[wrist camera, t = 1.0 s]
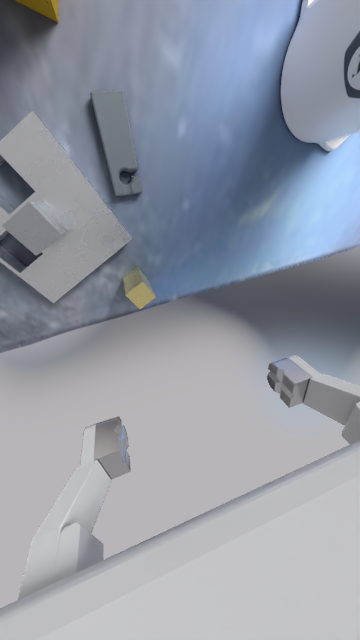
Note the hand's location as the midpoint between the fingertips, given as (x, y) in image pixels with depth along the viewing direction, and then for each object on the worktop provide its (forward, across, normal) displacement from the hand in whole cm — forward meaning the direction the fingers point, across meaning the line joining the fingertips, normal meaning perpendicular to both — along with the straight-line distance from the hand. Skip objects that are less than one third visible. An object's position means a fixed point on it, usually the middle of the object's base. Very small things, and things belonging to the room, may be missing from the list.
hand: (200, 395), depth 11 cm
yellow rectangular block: (+30, +1, +3) cm, 30 cm away
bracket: (+30, -1, -15) cm, 34 cm away
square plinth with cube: (+30, +10, -8) cm, 33 cm away
